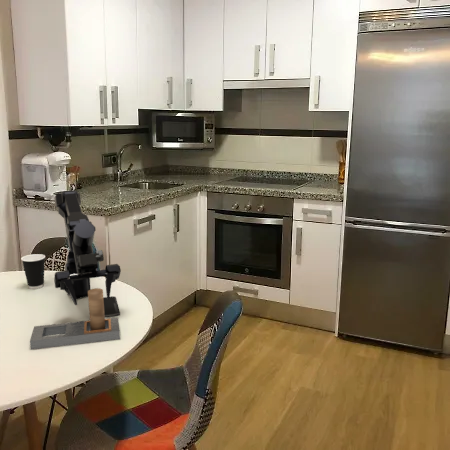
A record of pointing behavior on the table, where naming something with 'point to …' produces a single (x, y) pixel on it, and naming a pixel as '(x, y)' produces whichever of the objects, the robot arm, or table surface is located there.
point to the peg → (96, 309)
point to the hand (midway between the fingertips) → (92, 301)
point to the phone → (111, 307)
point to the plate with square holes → (73, 334)
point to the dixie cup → (34, 270)
